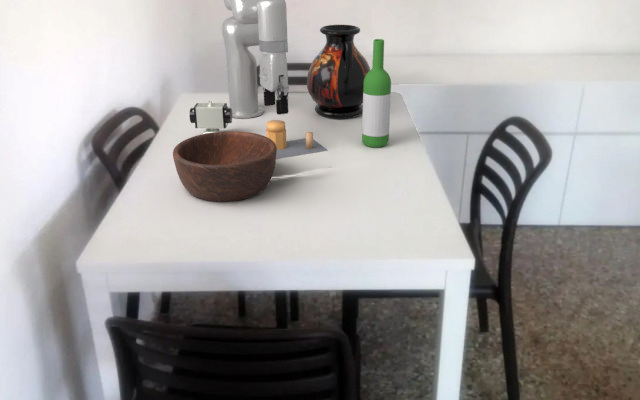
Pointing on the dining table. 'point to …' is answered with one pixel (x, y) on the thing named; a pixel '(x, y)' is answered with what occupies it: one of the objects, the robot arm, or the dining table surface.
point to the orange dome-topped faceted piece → (277, 133)
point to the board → (300, 147)
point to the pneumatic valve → (211, 116)
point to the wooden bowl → (225, 165)
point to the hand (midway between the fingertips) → (276, 109)
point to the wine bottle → (376, 101)
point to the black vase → (338, 74)
